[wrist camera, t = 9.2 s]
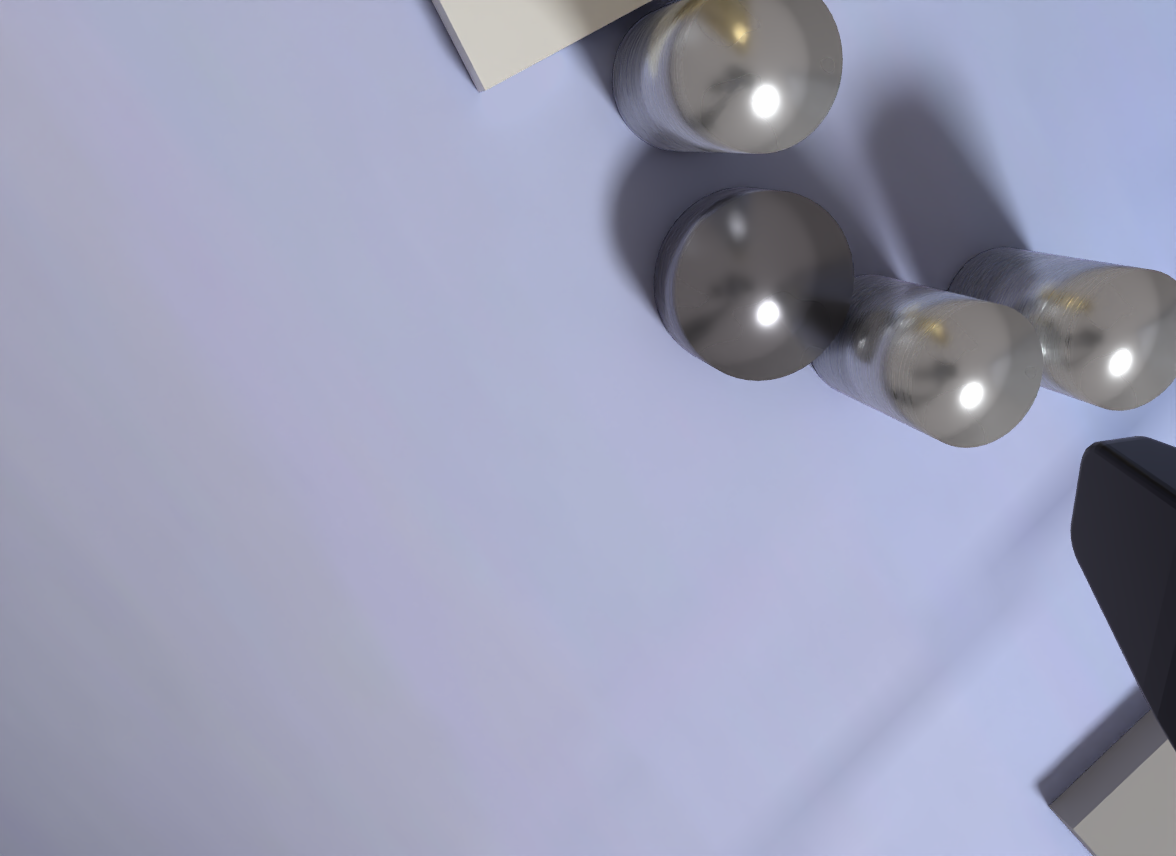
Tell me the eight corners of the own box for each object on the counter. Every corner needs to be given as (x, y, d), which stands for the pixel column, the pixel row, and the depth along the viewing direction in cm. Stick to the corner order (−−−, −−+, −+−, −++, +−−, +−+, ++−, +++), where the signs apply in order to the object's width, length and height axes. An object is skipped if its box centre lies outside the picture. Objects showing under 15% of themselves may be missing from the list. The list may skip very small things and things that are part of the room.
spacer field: (755, 512, 22) (843, 588, 18) (541, 71, 19) (596, 54, 15) (1062, 329, 23) (1207, 366, 19) (912, -130, 19) (1054, -195, 15)
